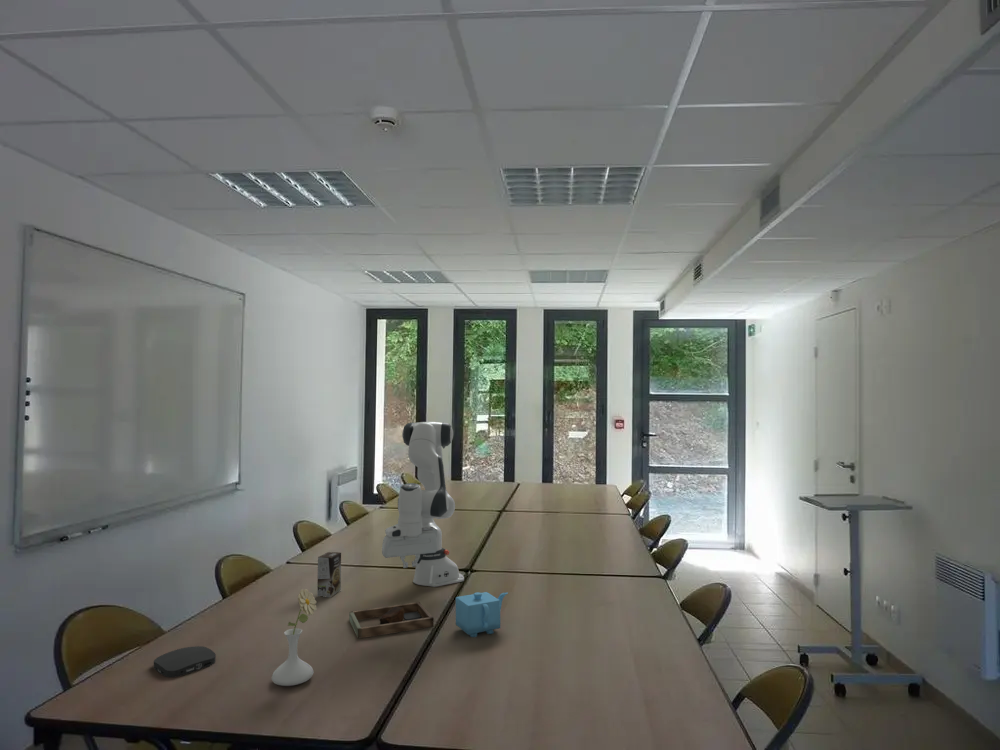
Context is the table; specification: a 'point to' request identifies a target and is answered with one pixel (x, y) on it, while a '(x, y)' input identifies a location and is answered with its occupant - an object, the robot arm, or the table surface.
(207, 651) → the media streaming box
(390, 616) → the brick
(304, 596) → the flower in vase
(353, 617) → the box
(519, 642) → the table surface
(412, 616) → the trap pits
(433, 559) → the robot arm
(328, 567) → the coffee box
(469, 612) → the teapot
